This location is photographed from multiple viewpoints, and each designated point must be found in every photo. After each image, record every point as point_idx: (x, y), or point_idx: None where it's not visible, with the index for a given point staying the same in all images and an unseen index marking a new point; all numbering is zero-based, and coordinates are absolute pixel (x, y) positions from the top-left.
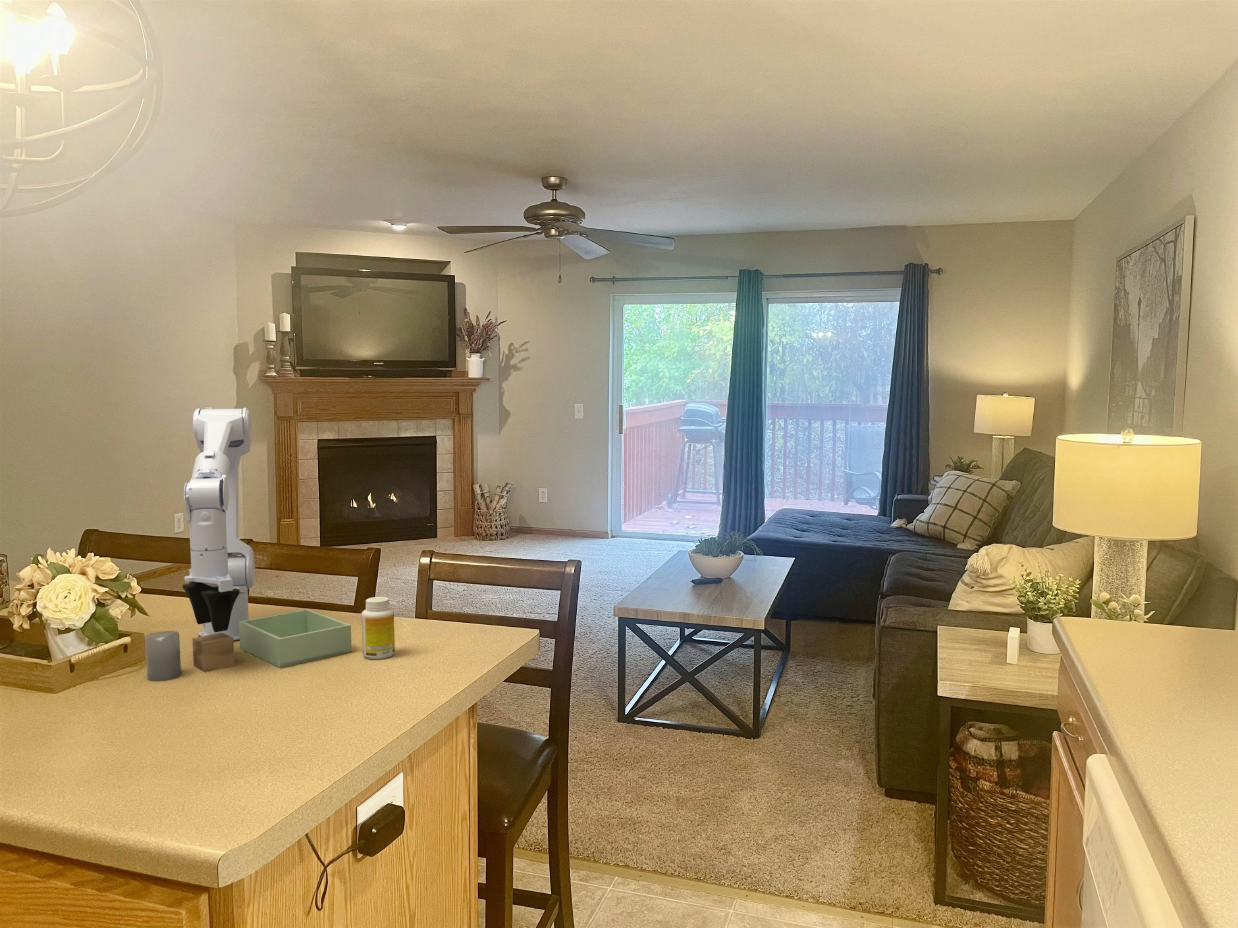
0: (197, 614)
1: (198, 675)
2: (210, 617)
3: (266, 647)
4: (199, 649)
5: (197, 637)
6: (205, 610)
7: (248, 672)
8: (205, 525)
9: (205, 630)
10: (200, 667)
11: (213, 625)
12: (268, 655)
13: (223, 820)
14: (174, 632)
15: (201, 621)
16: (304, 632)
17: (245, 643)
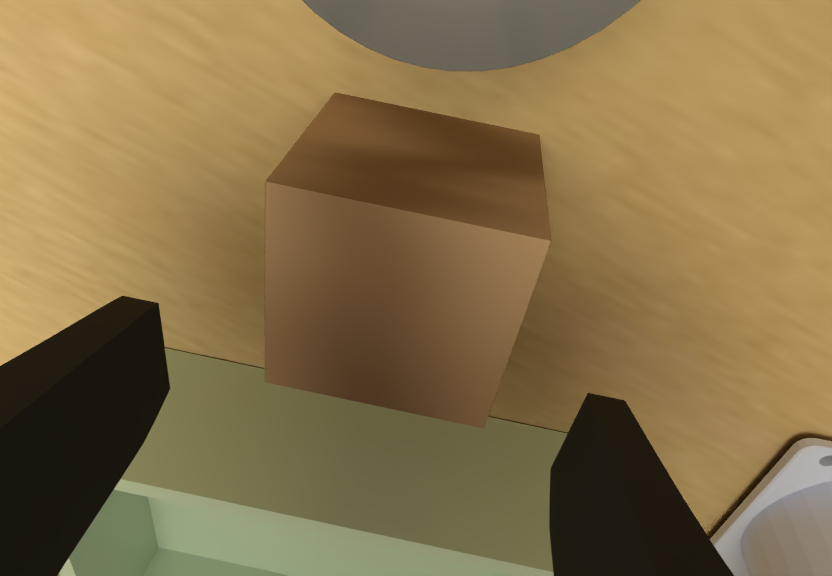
0: (609, 482)
1: (290, 24)
2: (35, 394)
3: (234, 425)
4: (384, 170)
5: (519, 270)
6: (585, 567)
7: (139, 228)
8: None
9: None
10: (400, 112)
11: (65, 330)
12: (224, 389)
13: None
14: (451, 19)
15: (582, 432)
16: None
17: (525, 457)
